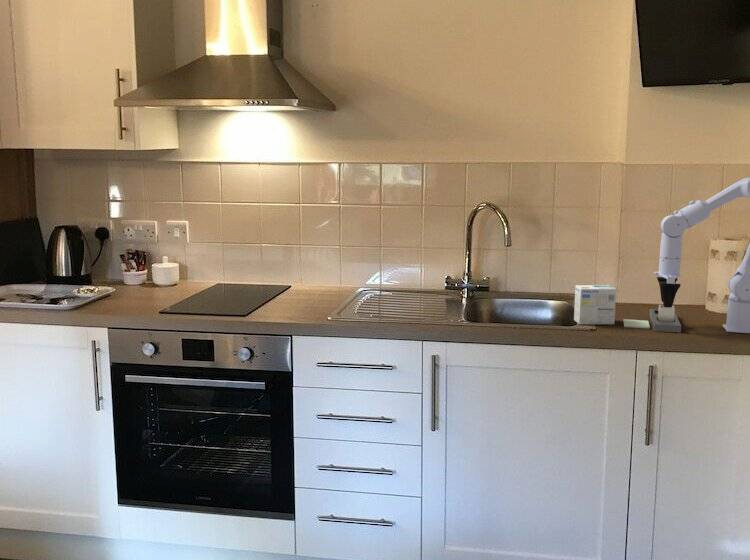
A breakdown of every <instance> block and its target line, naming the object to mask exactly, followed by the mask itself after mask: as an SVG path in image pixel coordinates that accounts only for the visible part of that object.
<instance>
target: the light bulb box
mask: <svg viewBox="0 0 750 560" xmlns="http://www.w3.org/2000/svg"><path fill="white" fill-rule="evenodd" d="M616 298H617V288H616V287H613V286H612V285H610V284H591V285H589V284H586V285H585V284H584V285H582V284H580V285H578V284H576V285H574V309H573V311H574V313H573V320H574V322H576V323H577V324H578V325H615V319H616V318H615V317H616V303H617V299H616Z"/></svg>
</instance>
